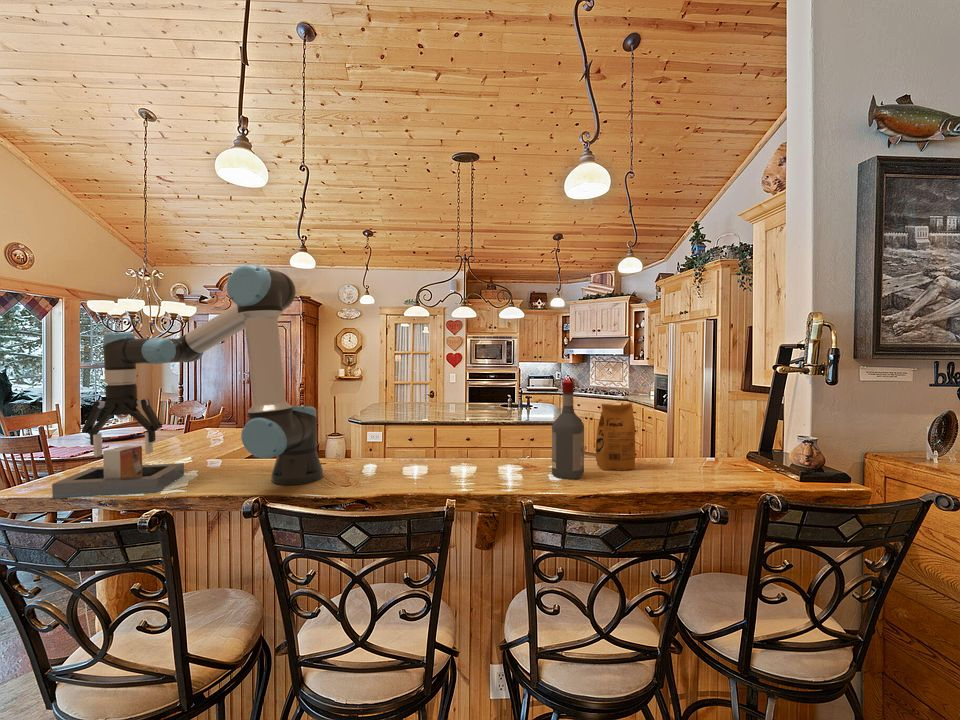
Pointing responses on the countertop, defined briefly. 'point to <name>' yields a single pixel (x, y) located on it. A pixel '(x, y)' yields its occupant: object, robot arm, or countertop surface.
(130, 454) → the small box
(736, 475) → the countertop surface
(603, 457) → the coffee package
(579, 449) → the liquor
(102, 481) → the tray
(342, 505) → the countertop surface
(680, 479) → the countertop surface
